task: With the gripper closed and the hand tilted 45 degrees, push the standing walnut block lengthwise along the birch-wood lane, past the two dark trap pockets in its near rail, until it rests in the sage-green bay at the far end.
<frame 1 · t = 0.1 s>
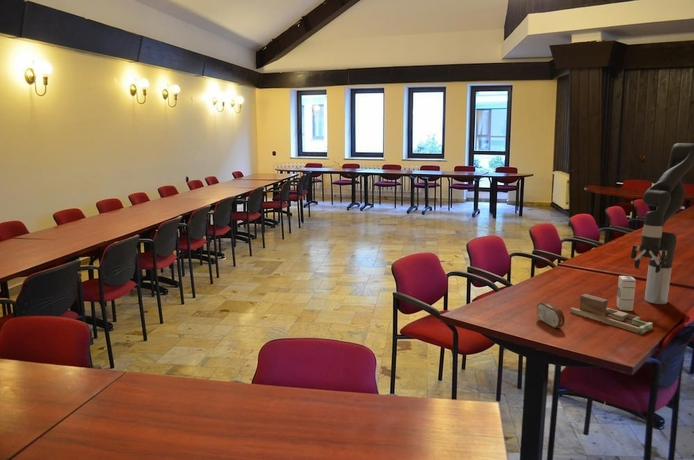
hand: (646, 270, 237), 17 cm above the table, tool pointing down, fingers open, 8 cm apart
tin: (549, 324, 219), on the table
lane: (610, 320, 223), on the table
syrup box: (624, 308, 238), on the table
block: (592, 315, 230), resting in lane
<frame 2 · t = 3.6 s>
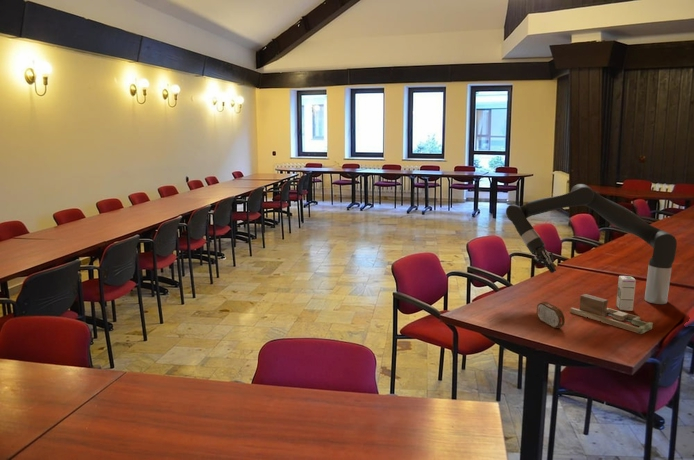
hand: (553, 272, 242), 15 cm above the table, tool tilted 45°, fingers closed
nothing on the table moved.
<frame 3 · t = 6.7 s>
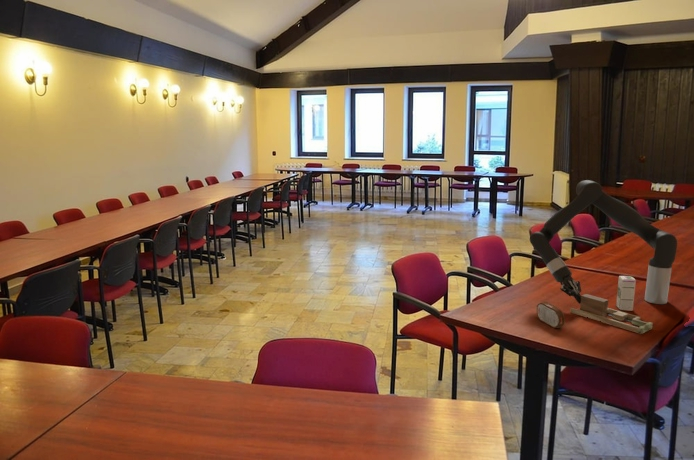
hand: (581, 302, 233), 4 cm above the table, tool tilted 45°, fingers closed
block: (592, 315, 229), resting in lane, touching gripper
everything else where it was.
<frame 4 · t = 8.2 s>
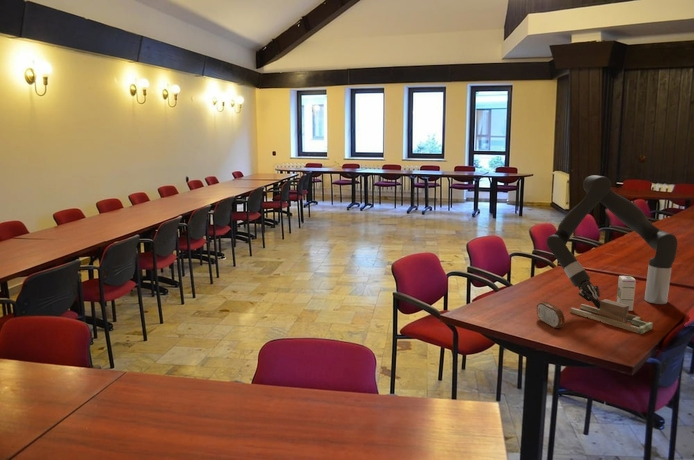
hand: (600, 307, 226), 4 cm above the table, tool tilted 45°, fingers closed
block: (612, 321, 223), resting in lane, touching gripper
everything else where it was.
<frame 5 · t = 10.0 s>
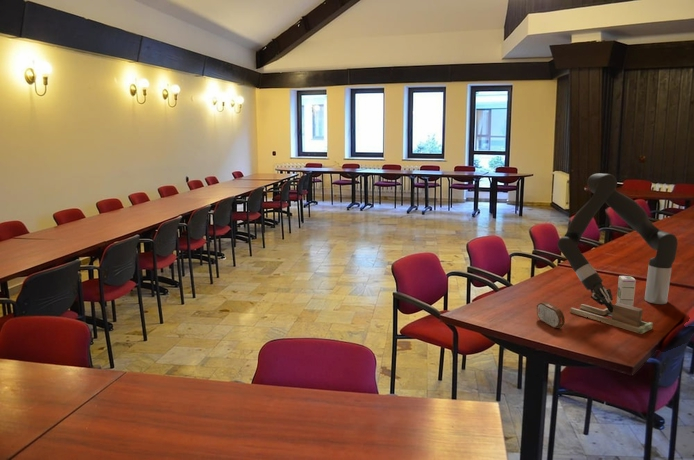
hand: (613, 311, 222), 4 cm above the table, tool tilted 45°, fingers closed
block: (626, 325, 218), resting in lane, touching gripper
everything else where it was.
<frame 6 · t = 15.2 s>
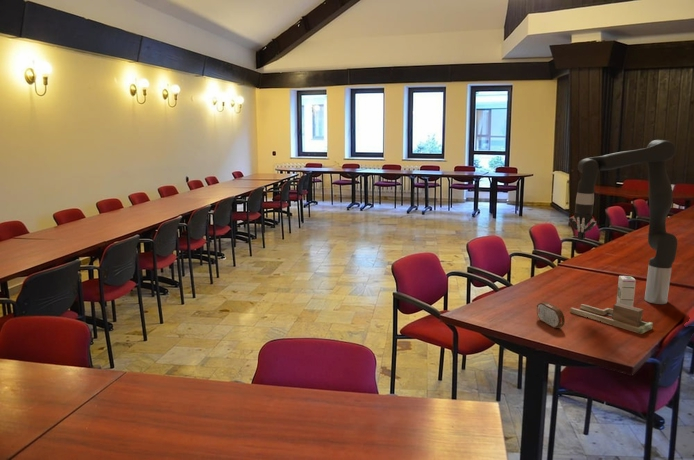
hand: (581, 239, 245), 29 cm above the table, tool pointing down, fingers closed
block: (626, 325, 218), resting in lane
everything else where it was.
at the end: block inside the target area (0.2 cm from its centre), resting in lane; block tilted 0° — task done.
